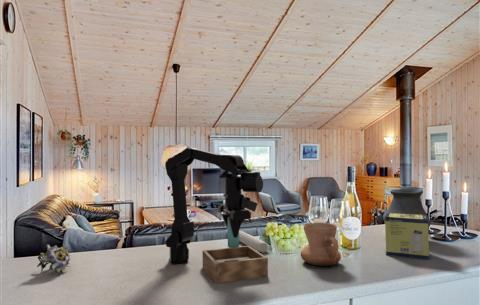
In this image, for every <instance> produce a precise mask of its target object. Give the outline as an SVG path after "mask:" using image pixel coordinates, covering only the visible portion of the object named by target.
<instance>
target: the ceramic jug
mask: <svg viewBox="0 0 480 305" xmlns="http://www.w3.org/2000/svg"><path fill="white" fill-rule="evenodd" d="M337 227H338V226H337V224H335V223H329V222H321V221H320V222H319V221H317V222H315V221H314V222H306V223H304V224H303V231H304V234H305V237H306V240H307V242H308V245H306V246H304V248H302V250H301V251H300V256H301V259H302V260H303V261H304V262H306V263H308V264H310V265H313V266H319V267H329V266H333V265H335V264H339V262H340V261H341V258H342V255H341V253H340V251H339V243H338V240H337V238H336V235H337V230H338V228H337Z"/></svg>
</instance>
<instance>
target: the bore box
mask: <svg viewBox="0 0 480 305" xmlns="http://www.w3.org/2000/svg"><path fill="white" fill-rule="evenodd" d="M268 259H269V258H268V257H267V256H266V255H264V254H263V253H260V252H258V251H256V250H255V249H253V248H252V247H250V246H247V245H242V246H239V247H237V248H229V247H223V248H213V249H203V250H202V269H203V270H204V271H205V272H206V273H207V275H209V277H210V278H211V279H212V281H213V282H214V283H215V284H219V283H220V284H221V283H227V282H228V281H229V282H235V281H242V280H248V279H257V278H263V277H268V276H269V263H268V262H269V260H268Z"/></svg>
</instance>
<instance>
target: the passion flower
mask: <svg viewBox="0 0 480 305" xmlns="http://www.w3.org/2000/svg"><path fill="white" fill-rule="evenodd" d="M46 248H47V251H46V252H45V253H44V252H40V253H39V255H38V256H37V260H38V261H39V263H38V264H37V266H36V268H38V267H40V268H41V269H40V271H41V274H42V273H43V270H44V268H46V267H47V265H48V264H50V265H49V270H50V271H52V270H54V272H55V273H56V274H58V275H59V274H63V275H64V274H66V272H67V271H66V270H67V269H66V268H67V267H68V268H70V267H71V263H70V262H71V255H70V254H69V251H68V249H67V246H65V247H62V246H61V247H58V246H57V245H54V246H50V244H46Z"/></svg>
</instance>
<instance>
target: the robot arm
mask: <svg viewBox="0 0 480 305" xmlns="http://www.w3.org/2000/svg"><path fill="white" fill-rule="evenodd" d="M195 160H197V161H201V162H205V163H207V164H211V165H215V166H217V167H218V168H220V169H221V170H223V172H222V173H221V174H220V175H219V178H220V179H224V183H225V184H224V190H225V191H224V193H223V194H222V195H223V197H224V203H220V204H219V205H218V206H217V213H219V214H220V213H221V214H220V216H221V218H222V220H223V222H224V224H225V227H226V229H227V230H228V221H229V224H230V227H231V230H232V233H233V236H234V238H237V236H238V233H239V230H240V228H241V225H242V223H243V222H244V221H246V220H251V219H252V212H256V210H257V207H258V204H259V203H258V202H255V201H252V200H251V197H249V196H245V194H243V193H242V192H244V193H245V192H246V193H261V192H262V190H263V189H264V181H263V177H262V176H261V172H260V171H253V172H250V170H249V169H248V167H247V166H246V164H245V162H244V161H245V160H244V159H243V157H242V156H241V155H238V154H237V155H236V154H220V153H216V152H212V151H208V150H204V149H203V150H202V149H200V148H197V147H189V146H188V147H186V148H184V149H183V150H182V151H180V152H178V153H177V154H174V155H173V156H171V157H169V158H167V160H166V161H165V164H164V166H165V172H166V175H167V177H168V178H169V180H170V181H171V192H172V203H173V204H172V206H173V214H174V215H173V216H174V219H173V222H172V225H171V227H170V228H171V229H170V230H171V231H170V235H169V236H168V238H167V239H166V240H165V246H166V247H167V248H169V258H168V261H169V263H170V265H176V264H185V263H186V264H187V263H189V259H190V258H189V256H190V254H189V253H190V249H189V248H188V244H190V243H191V241H192V238H193V237H194V234H195V232H196V230H195V223H194V221H191V220H190V219H189V217H188V208H187V195H186V182H185V179H186V177H187V175H188V168H189V166H190V165H192V163H193V162H194V161H195ZM251 211H252V212H251ZM228 217H230V218H228Z"/></svg>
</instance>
